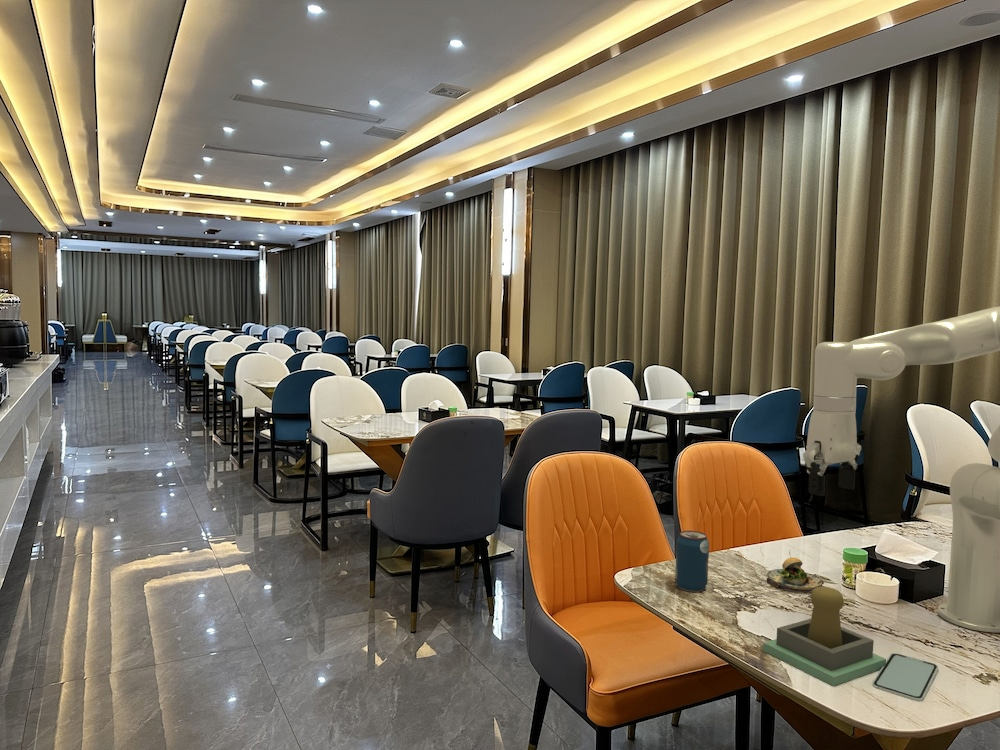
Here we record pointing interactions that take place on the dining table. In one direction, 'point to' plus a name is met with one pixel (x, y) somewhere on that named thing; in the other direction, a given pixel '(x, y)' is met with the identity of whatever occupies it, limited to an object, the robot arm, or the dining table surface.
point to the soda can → (692, 561)
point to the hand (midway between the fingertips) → (831, 491)
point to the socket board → (825, 654)
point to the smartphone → (906, 676)
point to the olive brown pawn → (826, 617)
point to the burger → (793, 576)
